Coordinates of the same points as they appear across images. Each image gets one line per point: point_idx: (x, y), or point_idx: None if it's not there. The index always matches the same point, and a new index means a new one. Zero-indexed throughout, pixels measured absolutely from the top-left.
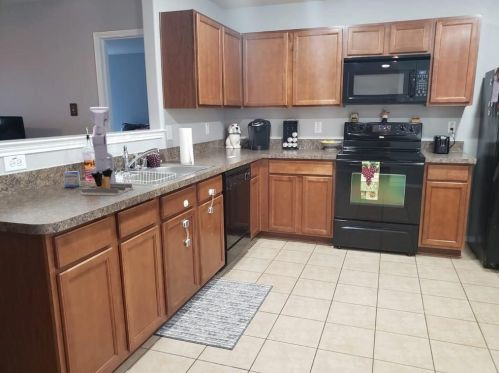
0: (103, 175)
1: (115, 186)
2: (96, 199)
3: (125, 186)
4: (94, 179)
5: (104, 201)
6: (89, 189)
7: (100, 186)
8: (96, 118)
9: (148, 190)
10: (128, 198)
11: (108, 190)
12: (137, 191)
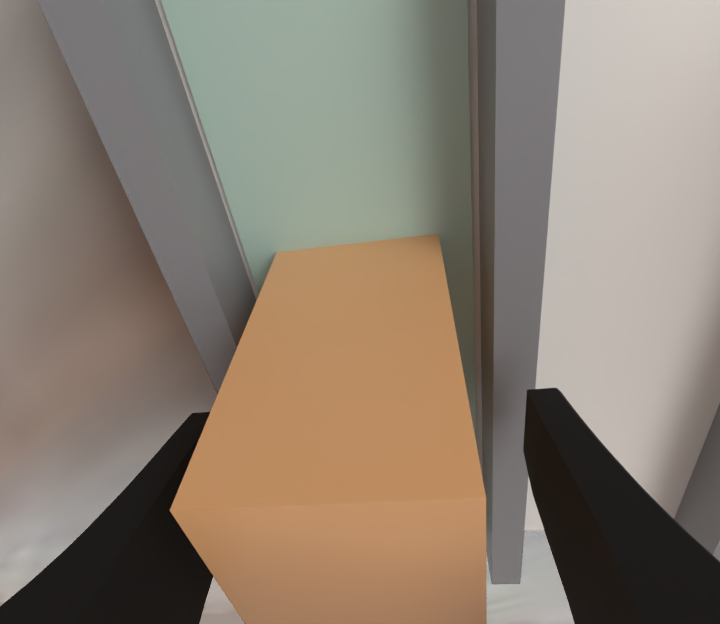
0: (627, 593)
1: (492, 502)
2: (36, 452)
3: (701, 490)
4: (52, 568)
5: (41, 539)
6: (146, 206)
7: None
8: None
9: None
10: (234, 612)
11: None
12: (541, 573)
